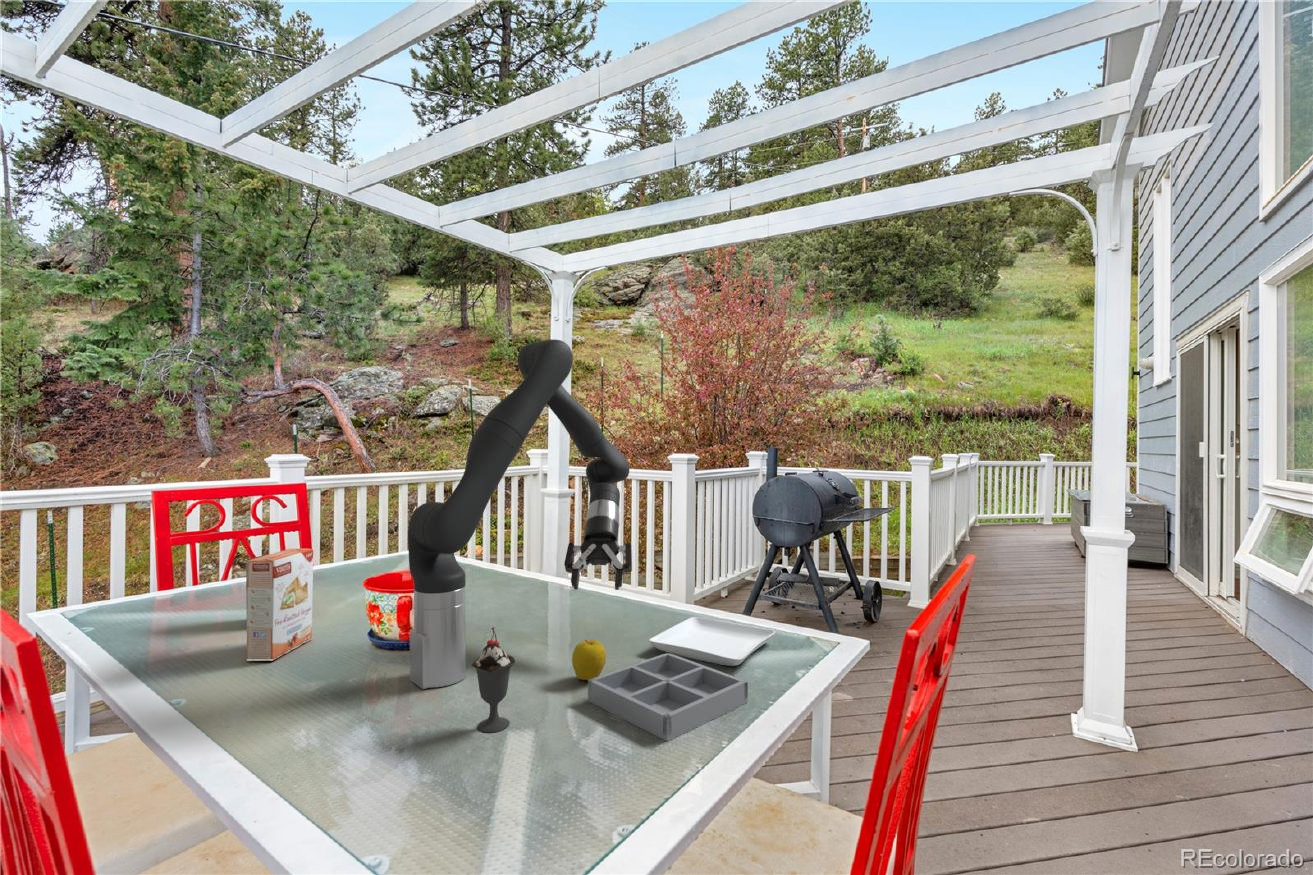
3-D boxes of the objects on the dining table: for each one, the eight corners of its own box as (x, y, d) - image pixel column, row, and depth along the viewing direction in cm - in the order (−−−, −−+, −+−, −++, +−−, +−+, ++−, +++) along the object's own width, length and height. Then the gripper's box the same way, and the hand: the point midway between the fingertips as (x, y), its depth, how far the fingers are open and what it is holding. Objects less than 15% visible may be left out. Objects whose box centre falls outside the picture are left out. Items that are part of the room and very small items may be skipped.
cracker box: (274, 663, 123) (274, 560, 123) (245, 663, 123) (244, 559, 123) (314, 640, 137) (314, 547, 137) (288, 640, 137) (288, 547, 137)
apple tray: (667, 741, 91) (667, 717, 91) (588, 700, 105) (587, 680, 105) (747, 702, 105) (747, 681, 105) (667, 670, 119) (667, 652, 119)
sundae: (498, 711, 101) (497, 621, 101) (523, 724, 97) (523, 629, 97) (463, 726, 96) (463, 631, 96) (488, 740, 92) (488, 640, 92)
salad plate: (777, 644, 136) (777, 628, 136) (740, 676, 117) (740, 658, 117) (692, 629, 146) (692, 614, 146) (646, 656, 128) (646, 640, 128)
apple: (574, 688, 111) (574, 644, 111) (569, 675, 117) (569, 633, 117) (609, 684, 112) (609, 641, 113) (602, 671, 119) (602, 630, 119)
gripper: (568, 514, 135) (559, 577, 124) (633, 514, 135) (629, 578, 123) (572, 534, 140) (564, 597, 129) (634, 534, 140) (631, 597, 129)
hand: (596, 587), depth 126 cm, fingers open, 8 cm apart
